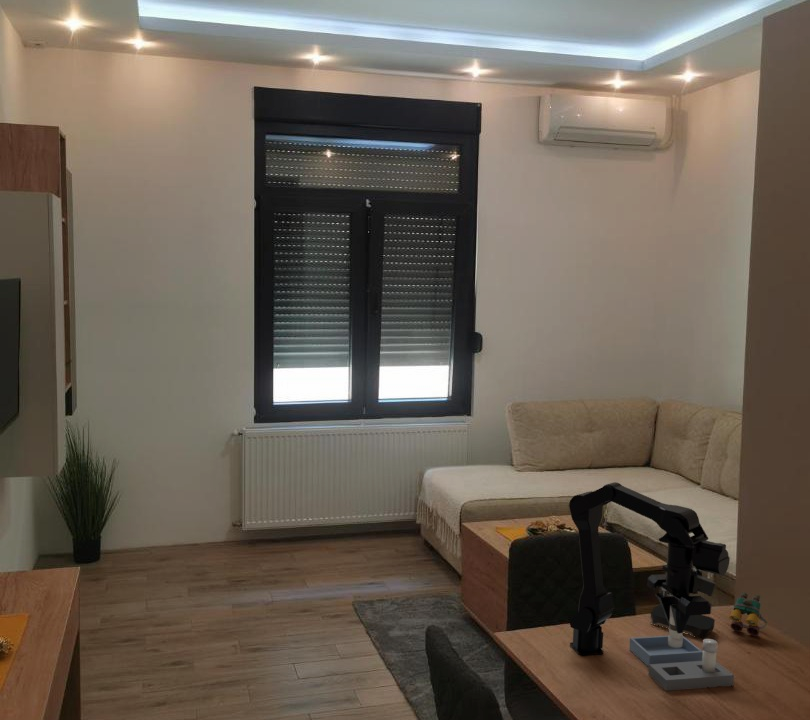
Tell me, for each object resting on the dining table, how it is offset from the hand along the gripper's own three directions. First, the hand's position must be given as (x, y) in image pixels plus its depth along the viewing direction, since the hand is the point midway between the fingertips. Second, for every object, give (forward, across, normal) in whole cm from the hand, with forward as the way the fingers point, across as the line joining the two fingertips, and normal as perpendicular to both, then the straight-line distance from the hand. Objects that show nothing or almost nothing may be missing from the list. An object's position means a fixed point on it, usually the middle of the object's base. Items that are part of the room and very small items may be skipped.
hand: (675, 630), depth 195 cm
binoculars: (+13, +23, -34) cm, 43 cm away
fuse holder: (+12, 0, -4) cm, 13 cm away
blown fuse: (+4, 0, 0) cm, 4 cm away
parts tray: (+12, +12, -5) cm, 18 cm away
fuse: (+12, 0, -9) cm, 15 cm away
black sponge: (+13, +29, -19) cm, 37 cm away
